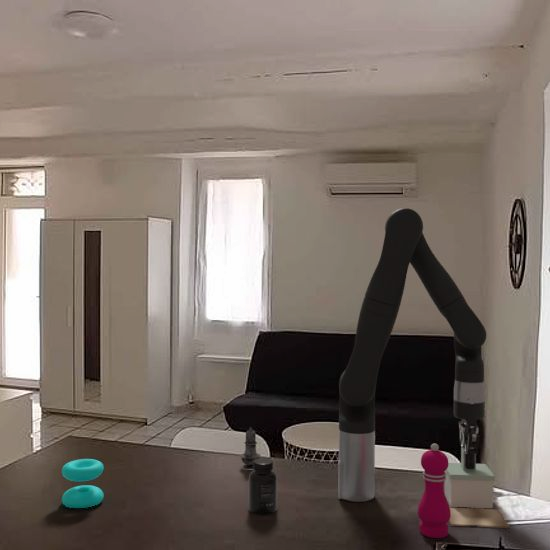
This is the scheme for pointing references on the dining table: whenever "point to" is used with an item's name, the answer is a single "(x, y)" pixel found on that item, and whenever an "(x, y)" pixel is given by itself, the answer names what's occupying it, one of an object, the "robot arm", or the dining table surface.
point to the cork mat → (477, 518)
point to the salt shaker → (250, 450)
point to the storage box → (469, 493)
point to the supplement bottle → (262, 488)
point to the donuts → (85, 493)
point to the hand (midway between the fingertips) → (468, 466)
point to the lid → (469, 470)
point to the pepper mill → (434, 495)
